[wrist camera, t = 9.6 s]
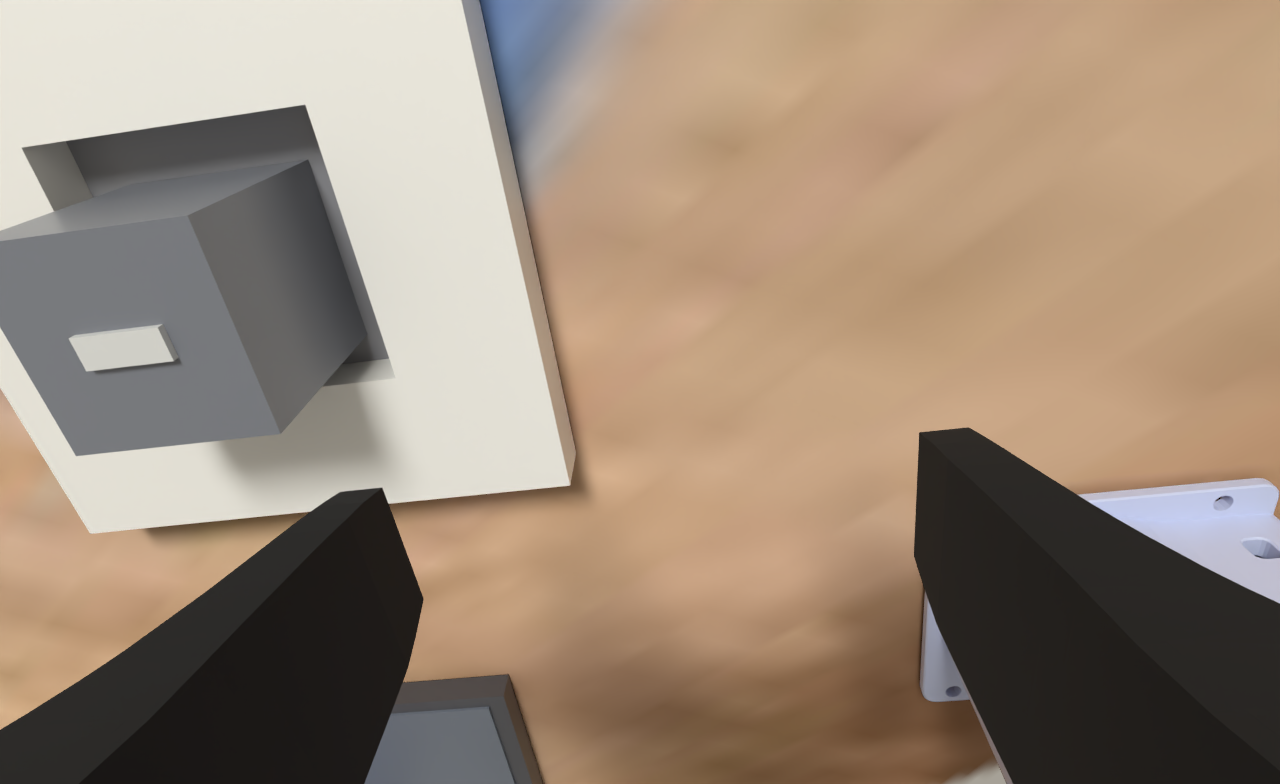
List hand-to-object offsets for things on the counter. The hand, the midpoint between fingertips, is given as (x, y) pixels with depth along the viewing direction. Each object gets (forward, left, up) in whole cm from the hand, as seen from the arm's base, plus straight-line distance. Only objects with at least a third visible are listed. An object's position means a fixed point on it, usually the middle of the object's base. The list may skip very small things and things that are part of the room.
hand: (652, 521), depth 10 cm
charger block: (+10, -2, -10) cm, 14 cm away
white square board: (+10, -2, -10) cm, 14 cm away
